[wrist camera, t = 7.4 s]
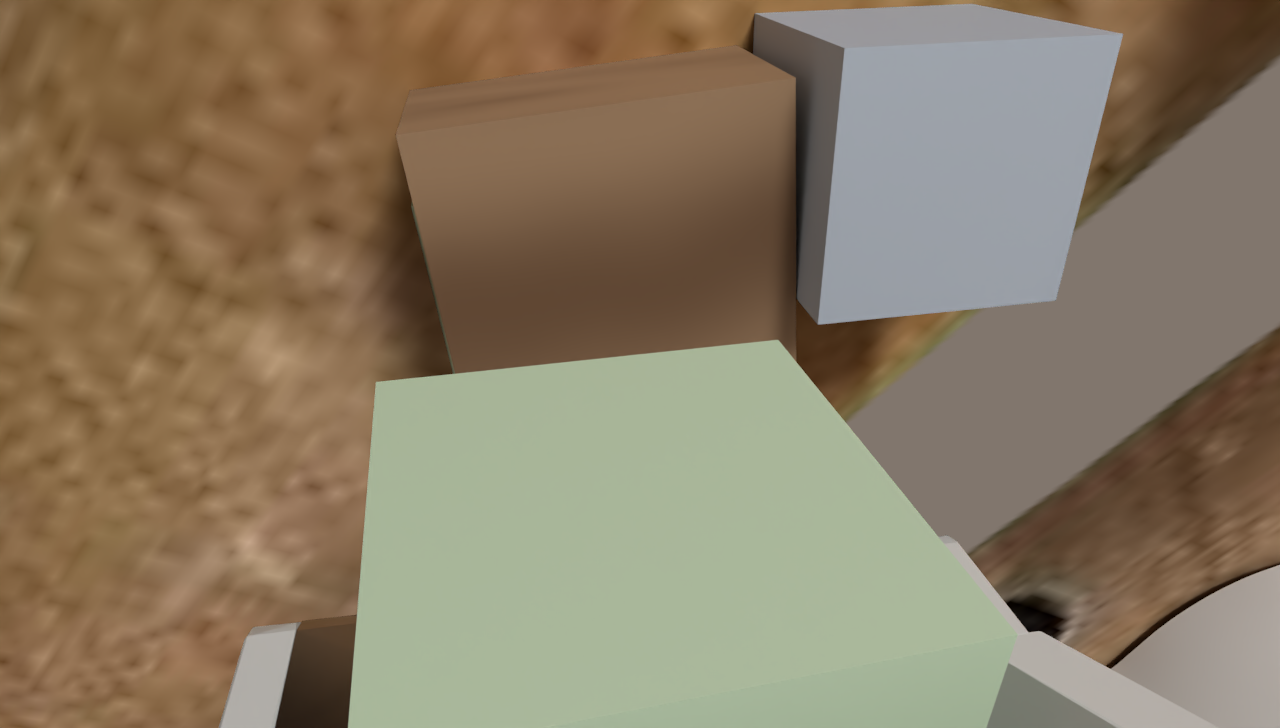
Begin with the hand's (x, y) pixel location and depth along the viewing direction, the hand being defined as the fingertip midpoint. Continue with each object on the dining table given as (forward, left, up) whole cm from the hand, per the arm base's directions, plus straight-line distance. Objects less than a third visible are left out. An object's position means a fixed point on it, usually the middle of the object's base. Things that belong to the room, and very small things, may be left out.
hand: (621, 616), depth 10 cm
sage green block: (0, 0, -2) cm, 2 cm away
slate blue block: (+3, -7, -11) cm, 14 cm away
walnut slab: (+1, -1, -11) cm, 12 cm away
